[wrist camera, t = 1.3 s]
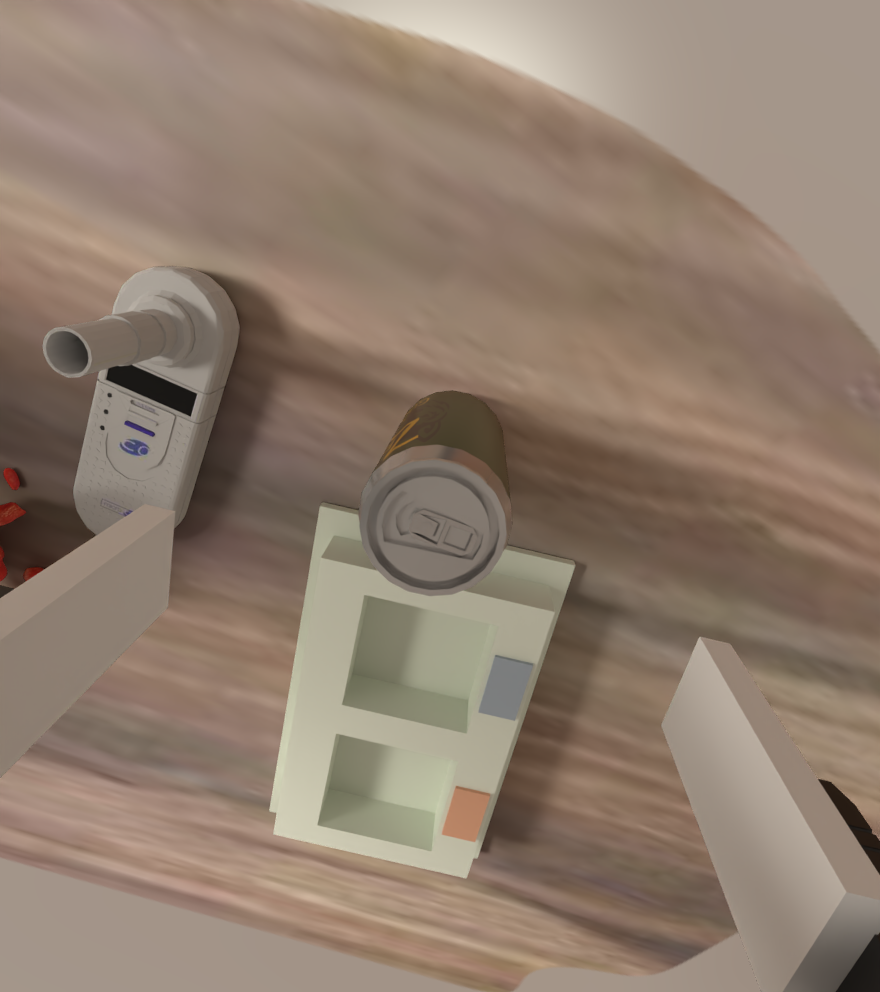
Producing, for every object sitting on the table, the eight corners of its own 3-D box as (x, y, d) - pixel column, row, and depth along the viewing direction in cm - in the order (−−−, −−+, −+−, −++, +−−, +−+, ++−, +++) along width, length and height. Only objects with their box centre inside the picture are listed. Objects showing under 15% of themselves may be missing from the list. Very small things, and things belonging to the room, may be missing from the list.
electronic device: (-47, 595, 26) (4, 245, 21) (92, 506, 35) (153, 247, 30) (74, 643, 26) (156, 313, 21) (180, 543, 36) (257, 295, 30)
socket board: (272, 803, 41) (253, 851, 38) (322, 502, 33) (304, 527, 30) (477, 850, 41) (476, 902, 38) (573, 560, 34) (583, 592, 30)
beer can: (519, 410, 31) (540, 487, 20) (480, 503, 33) (478, 623, 22) (419, 372, 31) (381, 428, 19) (385, 468, 33) (332, 570, 21)
